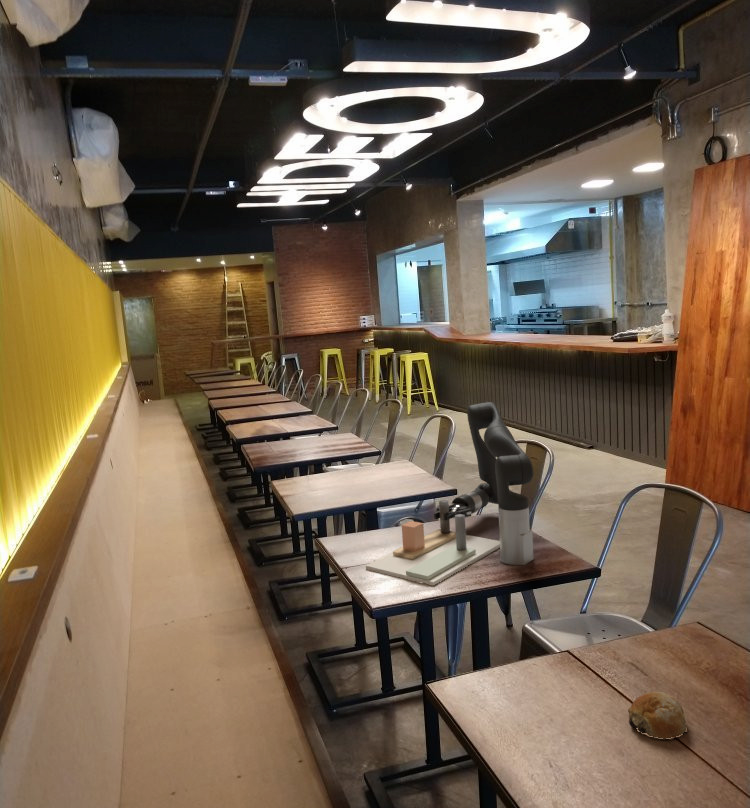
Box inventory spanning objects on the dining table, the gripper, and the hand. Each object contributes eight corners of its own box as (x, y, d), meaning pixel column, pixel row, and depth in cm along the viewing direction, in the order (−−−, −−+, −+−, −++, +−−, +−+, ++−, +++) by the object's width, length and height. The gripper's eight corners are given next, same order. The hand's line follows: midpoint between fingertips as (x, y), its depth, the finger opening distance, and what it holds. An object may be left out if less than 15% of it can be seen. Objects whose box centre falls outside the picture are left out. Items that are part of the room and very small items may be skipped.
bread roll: (682, 762, 127) (702, 725, 126) (628, 737, 128) (647, 700, 127) (669, 729, 137) (688, 695, 135) (619, 706, 138) (637, 672, 136)
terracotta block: (424, 546, 230) (423, 523, 229) (415, 551, 227) (414, 527, 226) (412, 544, 234) (411, 521, 233) (403, 549, 230) (401, 525, 229)
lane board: (503, 545, 235) (503, 541, 235) (433, 586, 205) (433, 582, 204) (439, 533, 251) (439, 529, 251) (365, 569, 221) (365, 565, 221)
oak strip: (458, 535, 243) (456, 501, 241) (412, 559, 223) (410, 522, 222) (439, 532, 248) (437, 498, 246) (393, 555, 228) (390, 518, 227)
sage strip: (475, 552, 225) (473, 515, 224) (427, 580, 206) (425, 539, 204) (454, 548, 230) (452, 512, 229) (406, 574, 211) (403, 535, 209)
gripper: (450, 491, 258) (422, 503, 245) (483, 496, 249) (456, 509, 236) (451, 511, 259) (423, 524, 246) (484, 517, 250) (457, 531, 237)
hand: (439, 517), depth 241 cm, fingers closed on oak strip, 3 cm apart
